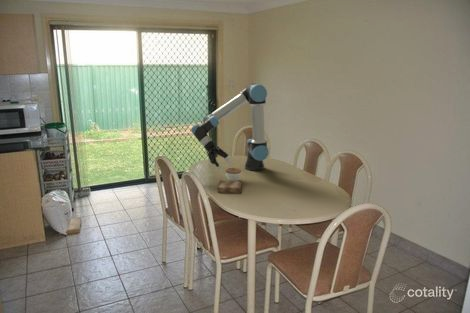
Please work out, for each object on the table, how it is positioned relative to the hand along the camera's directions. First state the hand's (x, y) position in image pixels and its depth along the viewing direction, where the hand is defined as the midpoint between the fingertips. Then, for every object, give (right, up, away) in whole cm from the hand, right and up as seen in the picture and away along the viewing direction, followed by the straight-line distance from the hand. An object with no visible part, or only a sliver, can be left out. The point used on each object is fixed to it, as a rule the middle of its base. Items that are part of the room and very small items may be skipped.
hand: (226, 167), depth 242 cm
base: (+2, -13, -15) cm, 21 cm away
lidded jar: (+4, -10, +1) cm, 11 cm away
